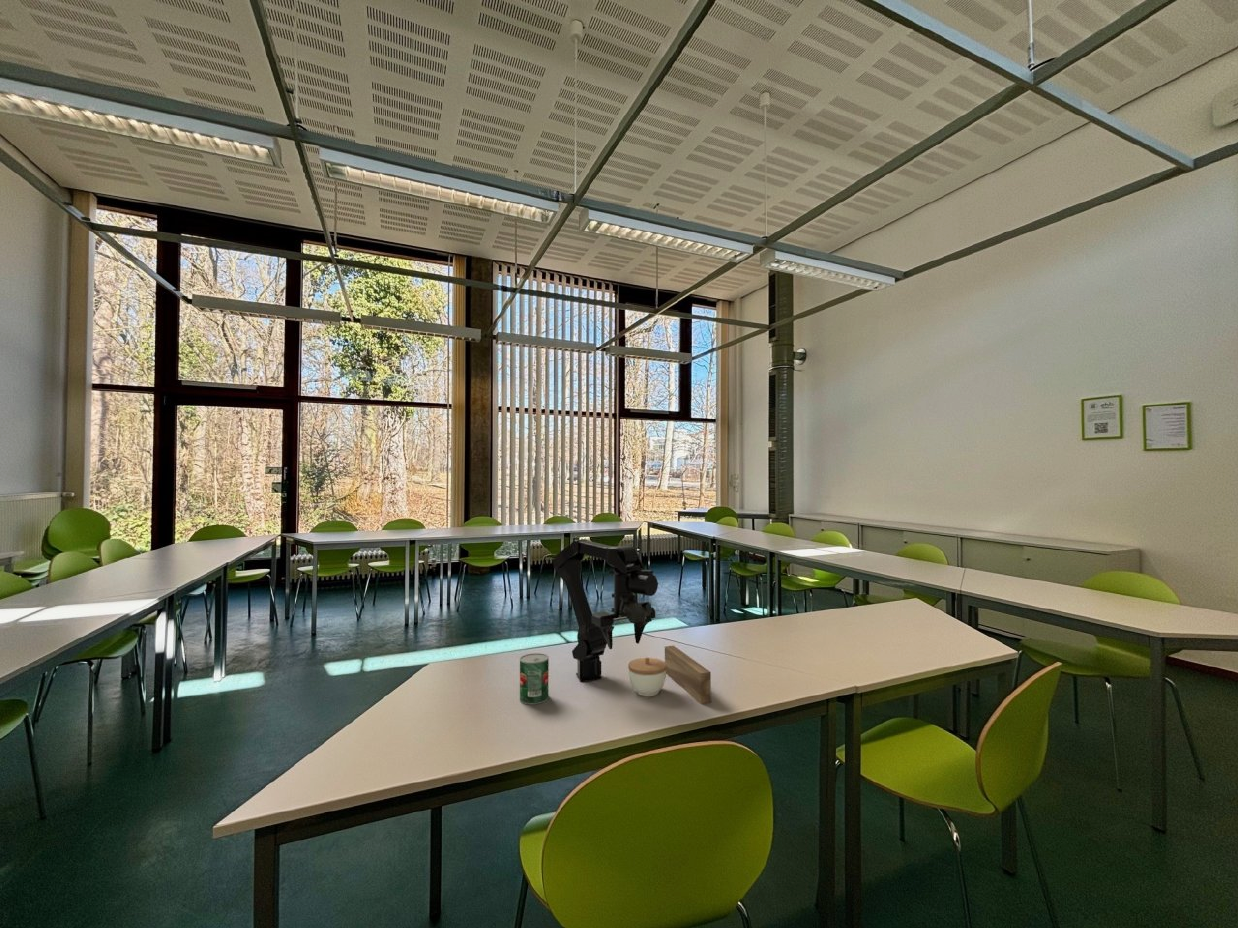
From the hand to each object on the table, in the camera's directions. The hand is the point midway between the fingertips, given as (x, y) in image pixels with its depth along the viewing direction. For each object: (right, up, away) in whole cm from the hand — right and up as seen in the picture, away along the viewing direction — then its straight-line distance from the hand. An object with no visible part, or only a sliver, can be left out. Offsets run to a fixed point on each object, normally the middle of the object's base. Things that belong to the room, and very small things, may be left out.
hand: (624, 646), depth 143 cm
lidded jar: (+7, -13, -2) cm, 14 cm away
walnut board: (+18, -12, +2) cm, 22 cm away
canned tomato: (-25, -13, -6) cm, 28 cm away
